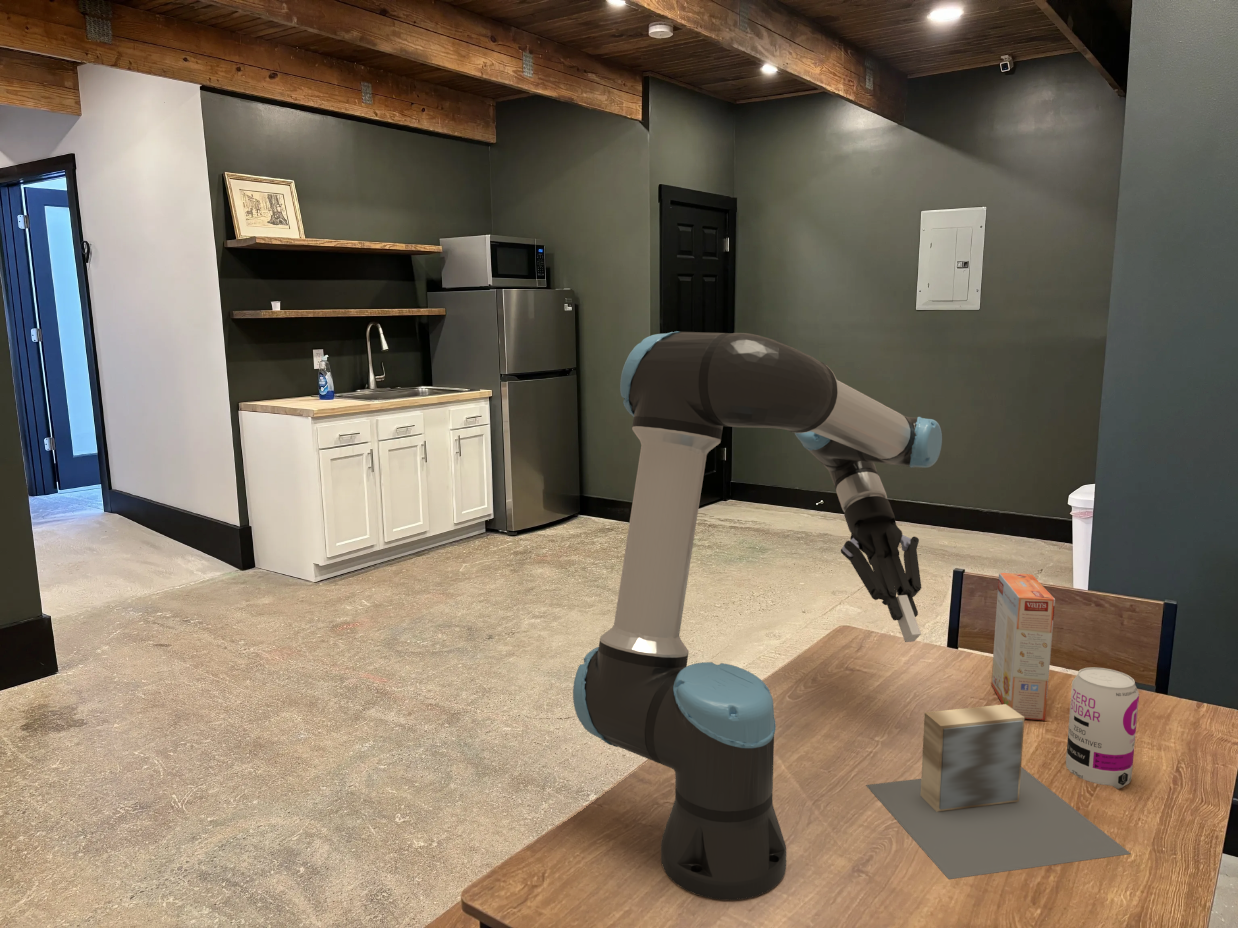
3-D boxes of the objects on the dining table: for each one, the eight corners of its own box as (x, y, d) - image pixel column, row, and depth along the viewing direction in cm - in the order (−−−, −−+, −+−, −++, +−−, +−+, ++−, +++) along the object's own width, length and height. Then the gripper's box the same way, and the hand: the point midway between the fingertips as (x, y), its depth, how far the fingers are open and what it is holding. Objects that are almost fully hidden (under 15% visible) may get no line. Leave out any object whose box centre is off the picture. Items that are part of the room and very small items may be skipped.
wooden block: (937, 812, 115) (941, 726, 113) (920, 795, 119) (924, 712, 117) (1019, 802, 117) (1025, 717, 115) (1000, 785, 121) (1005, 704, 119)
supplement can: (1137, 775, 125) (1146, 675, 123) (1121, 798, 119) (1130, 694, 117) (1075, 756, 131) (1083, 661, 128) (1057, 777, 125) (1065, 678, 122)
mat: (948, 886, 101) (948, 878, 101) (865, 791, 122) (865, 784, 122) (1130, 860, 106) (1131, 853, 106) (1021, 773, 126) (1021, 766, 126)
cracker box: (1048, 722, 142) (1057, 598, 138) (1008, 719, 143) (1016, 596, 139) (1026, 686, 155) (1034, 572, 152) (990, 684, 156) (997, 571, 153)
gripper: (893, 516, 149) (942, 644, 136) (821, 520, 147) (864, 651, 134) (910, 491, 143) (963, 623, 130) (836, 495, 141) (882, 630, 128)
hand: (913, 637), depth 132 cm, fingers closed
